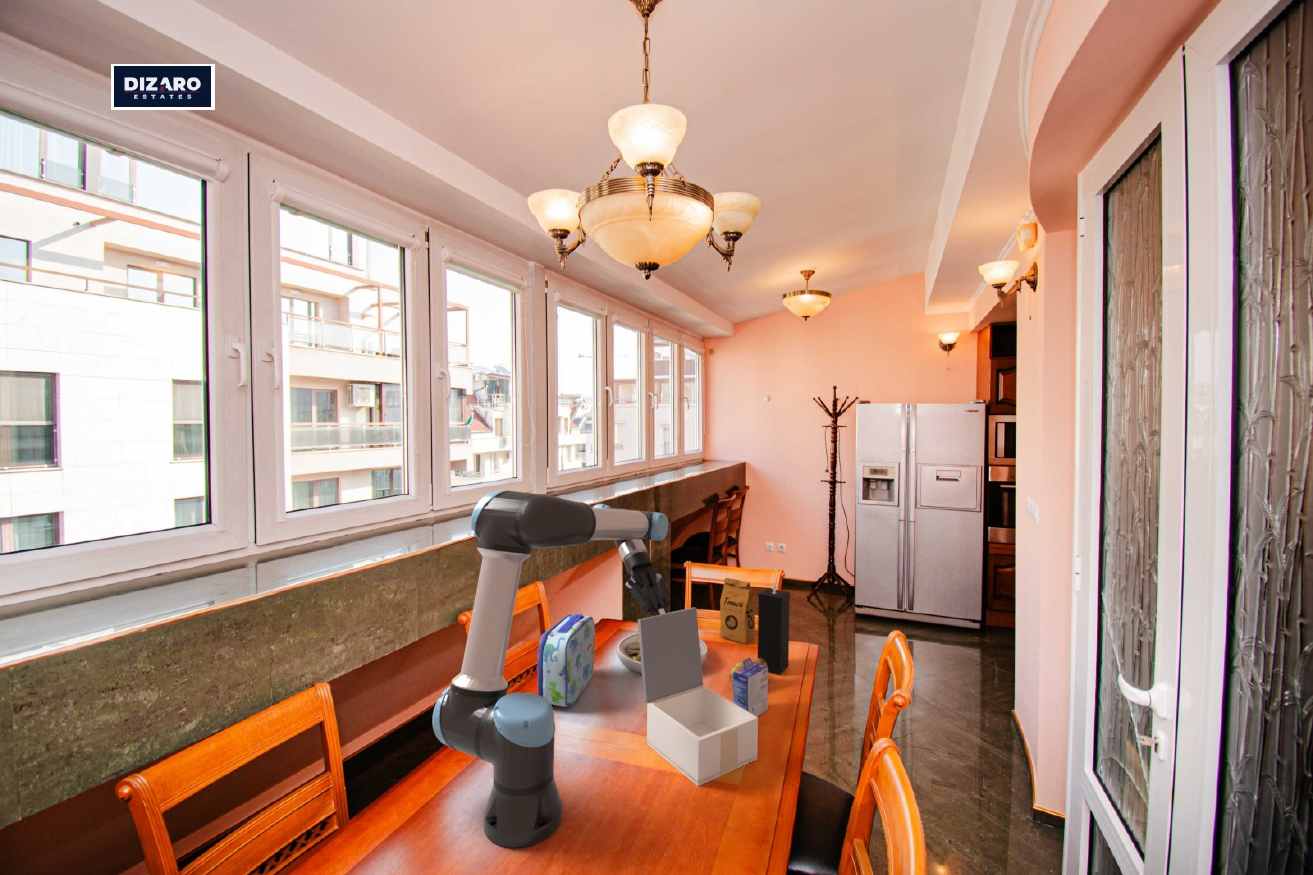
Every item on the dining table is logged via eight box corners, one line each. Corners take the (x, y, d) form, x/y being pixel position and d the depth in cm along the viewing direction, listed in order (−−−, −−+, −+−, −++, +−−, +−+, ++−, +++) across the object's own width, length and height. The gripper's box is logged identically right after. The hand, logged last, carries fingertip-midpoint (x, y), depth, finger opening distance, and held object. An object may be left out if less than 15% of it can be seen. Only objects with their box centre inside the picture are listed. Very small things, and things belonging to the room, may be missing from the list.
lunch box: (565, 671, 183) (566, 605, 182) (598, 674, 180) (599, 608, 180) (532, 710, 157) (532, 635, 157) (569, 715, 155) (570, 638, 154)
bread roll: (747, 699, 166) (747, 671, 166) (719, 688, 172) (719, 662, 172) (769, 684, 175) (770, 658, 175) (742, 674, 182) (743, 649, 182)
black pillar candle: (788, 667, 188) (790, 582, 187) (780, 675, 181) (781, 587, 180) (766, 661, 192) (767, 578, 191) (756, 669, 185) (758, 583, 185)
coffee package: (744, 647, 204) (745, 586, 203) (715, 638, 212) (716, 579, 212) (759, 640, 211) (760, 580, 211) (731, 631, 219) (732, 574, 219)
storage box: (646, 743, 142) (647, 703, 141) (703, 722, 152) (703, 685, 152) (698, 786, 125) (699, 741, 125) (757, 760, 135) (758, 718, 135)
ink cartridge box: (751, 703, 163) (752, 652, 163) (768, 710, 159) (769, 658, 159) (731, 715, 156) (732, 663, 156) (748, 723, 152) (749, 669, 152)
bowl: (598, 662, 190) (598, 639, 190) (657, 637, 213) (657, 616, 213) (668, 690, 171) (668, 664, 170) (724, 660, 193) (725, 637, 193)
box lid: (646, 703, 142) (644, 702, 143) (703, 685, 152) (700, 684, 153) (640, 620, 144) (637, 619, 145) (696, 607, 154) (693, 607, 155)
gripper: (648, 562, 171) (681, 635, 158) (611, 567, 164) (642, 645, 151) (659, 547, 167) (694, 622, 154) (621, 553, 159) (654, 631, 146)
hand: (668, 633), depth 152 cm, fingers closed
